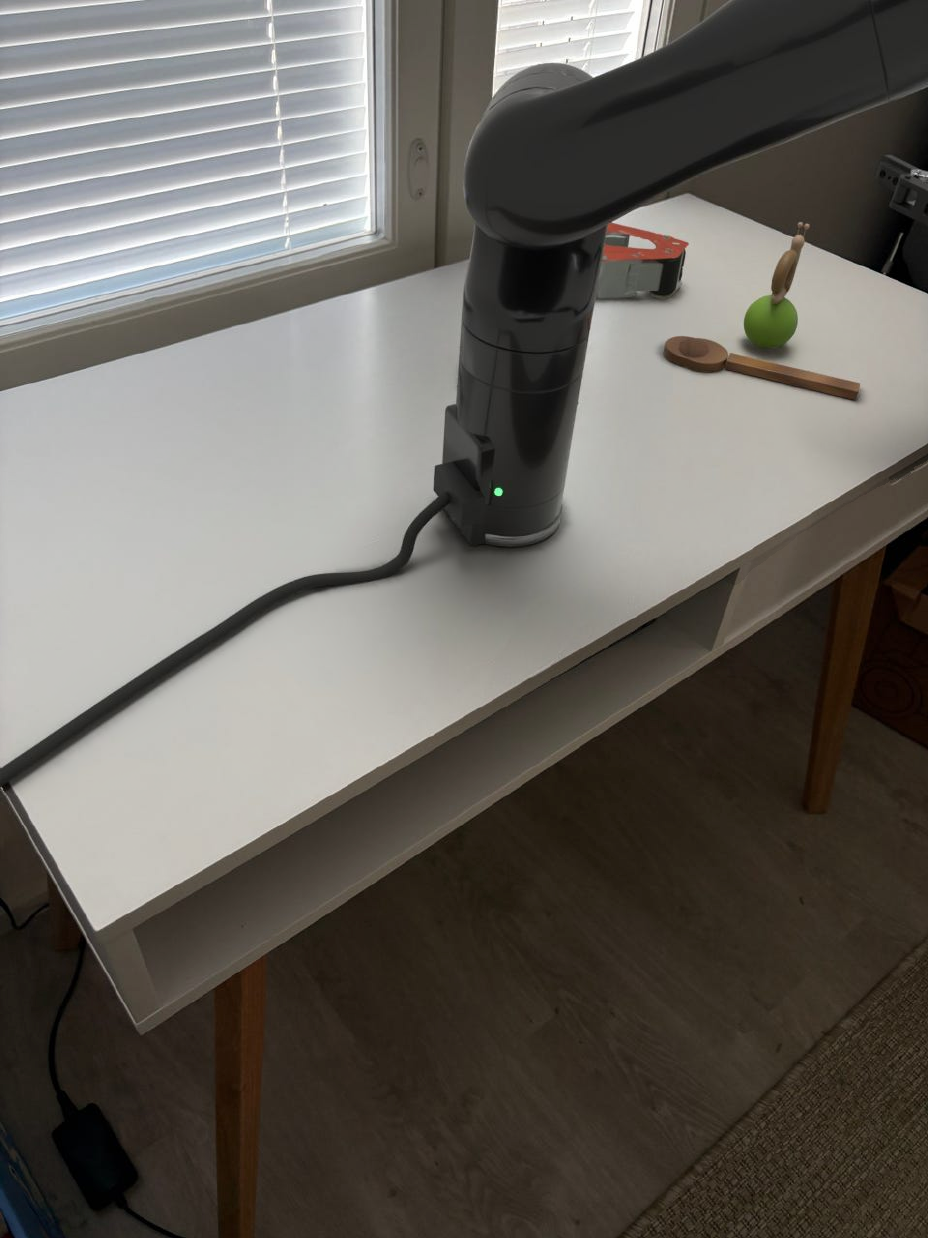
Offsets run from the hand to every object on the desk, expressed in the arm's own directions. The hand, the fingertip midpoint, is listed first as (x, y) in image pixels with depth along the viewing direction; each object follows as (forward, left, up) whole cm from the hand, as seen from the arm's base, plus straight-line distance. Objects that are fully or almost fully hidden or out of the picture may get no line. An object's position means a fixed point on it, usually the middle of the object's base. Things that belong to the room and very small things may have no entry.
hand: (916, 161), depth 88 cm
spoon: (-6, +4, -22) cm, 23 cm away
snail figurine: (-2, +9, -22) cm, 24 cm away
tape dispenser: (-13, +26, -22) cm, 36 cm away
